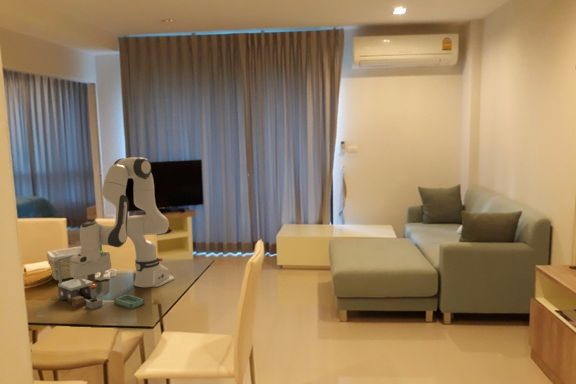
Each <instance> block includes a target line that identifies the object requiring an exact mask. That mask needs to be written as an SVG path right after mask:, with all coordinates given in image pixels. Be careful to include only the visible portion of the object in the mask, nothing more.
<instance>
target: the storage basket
mask: <svg viewBox="0 0 576 384" xmlns="http://www.w3.org/2000/svg"><path fill="white" fill-rule="evenodd" d="M79 252H81V245H80V246H74V247H69V248H61V249H55V250H54V249H53V250H47V251H46V258H47V259H48V260H47V261H48V265H49V264H50V266H51V270H52V276H53V277H52V276H51V277H52V278H53V279H54V280H55V281H59V275H58V261H57V259H58V258H62V257H66V256H71V255H75V254H78V253H79ZM60 261H61V276H62V280H67V279H72V277H71V276H70V265H71V263H72V262H73V261H71V258H68V259H64V260H60Z"/></svg>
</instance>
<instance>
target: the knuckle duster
mask: <svg viewBox="0 0 576 384" xmlns="http://www.w3.org/2000/svg"><path fill="white" fill-rule="evenodd" d="M100 274H101V273H100V272H99V273H95V282H96V281H99V280H98V279H99V278H98V277H99V276H100ZM116 276H117V269H115V268H111V269H110V270H106V271H105V274H104V276H103V280H102V281H108V280H111V278H112V277H116ZM83 279H86V280H88V277H87V276H83Z"/></svg>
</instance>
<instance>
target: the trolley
mask: <svg viewBox="0 0 576 384" xmlns="http://www.w3.org/2000/svg"><path fill="white" fill-rule="evenodd" d="M75 255H76V254H75ZM72 256H74V255H71V256H66V257H62V258H58V259H57V261H58V275H59V280H58V284H57V286H58V289H57V292H58V296H59V298H60V300H61V301H67V302H68V303H69V304H72V298H73V297H76V296H82V295H83V297H84V305H85V307H86V308H89V309H91V310H94V309H97V308H100V307H103V299H101V298H98V297H97V301H95V302H91V289H90V287H89V285H90V284H93V282H92V281H89V280H88V279H84V278H83V279H82V280H83V281H86V283H85V284H86V285H83V286H82V285H81V282H80V280H79V279H78V278H76V279H74V278H73V279H69V280H65V281H63V279H62V276H61V261H60V260H64V259H68V258H71V257H72ZM88 298H90V299H88Z"/></svg>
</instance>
